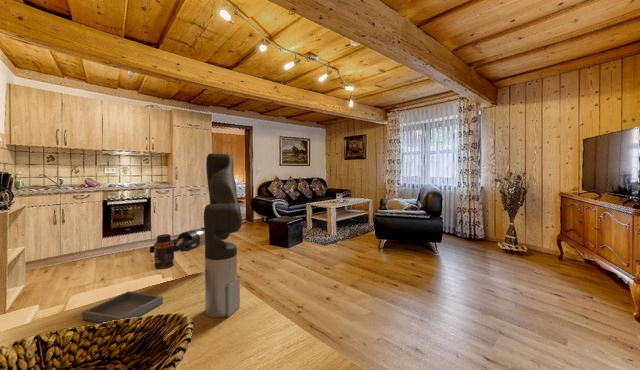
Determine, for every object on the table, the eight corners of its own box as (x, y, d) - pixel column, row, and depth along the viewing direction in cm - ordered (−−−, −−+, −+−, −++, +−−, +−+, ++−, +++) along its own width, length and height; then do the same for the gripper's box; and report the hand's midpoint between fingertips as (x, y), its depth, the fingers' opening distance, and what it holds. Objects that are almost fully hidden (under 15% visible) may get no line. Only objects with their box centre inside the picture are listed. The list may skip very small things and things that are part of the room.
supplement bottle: (178, 264, 94) (177, 233, 94) (166, 270, 89) (166, 237, 88) (162, 264, 95) (161, 233, 95) (150, 269, 89) (149, 236, 89)
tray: (162, 303, 85) (162, 296, 85) (121, 327, 72) (120, 318, 72) (128, 298, 89) (128, 291, 89) (82, 320, 75) (82, 312, 75)
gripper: (177, 229, 107) (140, 238, 91) (208, 230, 104) (175, 240, 87) (178, 247, 107) (141, 260, 91) (208, 249, 104) (176, 263, 88)
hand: (158, 250), depth 89 cm, fingers closed on supplement bottle, 6 cm apart
